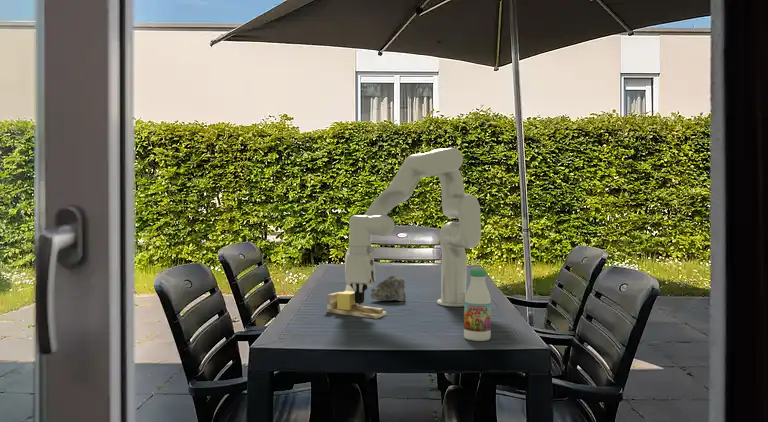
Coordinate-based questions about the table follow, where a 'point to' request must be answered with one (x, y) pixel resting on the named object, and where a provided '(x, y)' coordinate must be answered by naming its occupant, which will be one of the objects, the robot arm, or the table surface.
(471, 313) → the milk bottle
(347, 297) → the block
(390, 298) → the mineral rock
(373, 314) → the rail
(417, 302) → the table surface
